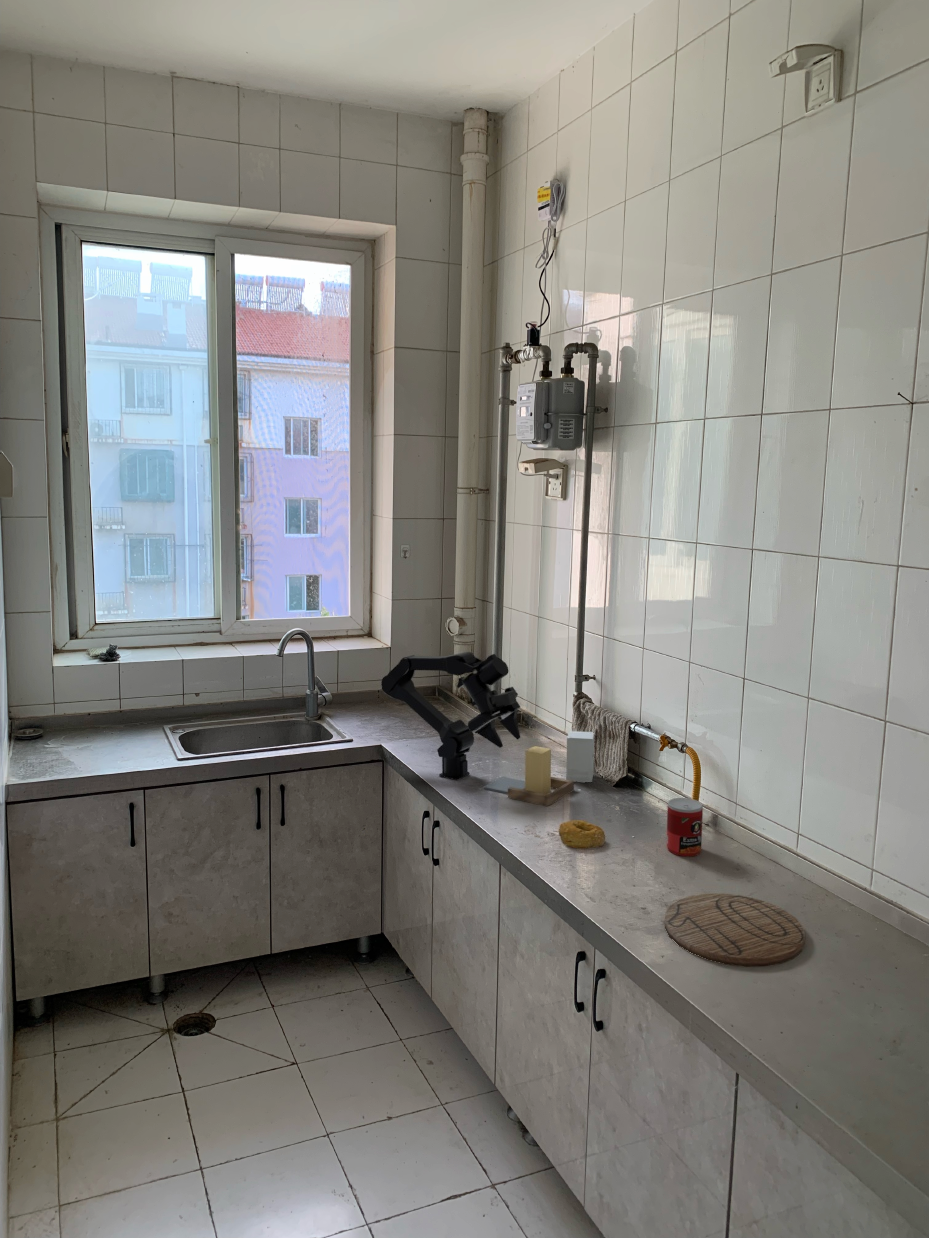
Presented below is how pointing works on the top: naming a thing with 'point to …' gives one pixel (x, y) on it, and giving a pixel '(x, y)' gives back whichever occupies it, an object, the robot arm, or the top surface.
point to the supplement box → (580, 756)
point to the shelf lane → (543, 799)
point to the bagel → (581, 834)
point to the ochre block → (538, 770)
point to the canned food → (684, 826)
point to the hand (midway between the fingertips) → (510, 742)
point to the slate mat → (505, 785)
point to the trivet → (734, 929)
